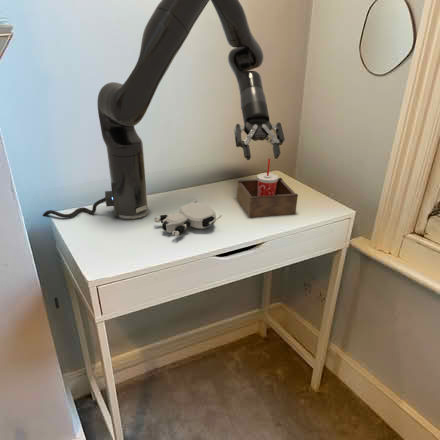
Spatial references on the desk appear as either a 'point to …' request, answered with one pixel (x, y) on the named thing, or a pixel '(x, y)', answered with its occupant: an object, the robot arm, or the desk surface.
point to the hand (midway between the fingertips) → (263, 158)
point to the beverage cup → (267, 183)
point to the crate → (266, 199)
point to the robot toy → (188, 218)
